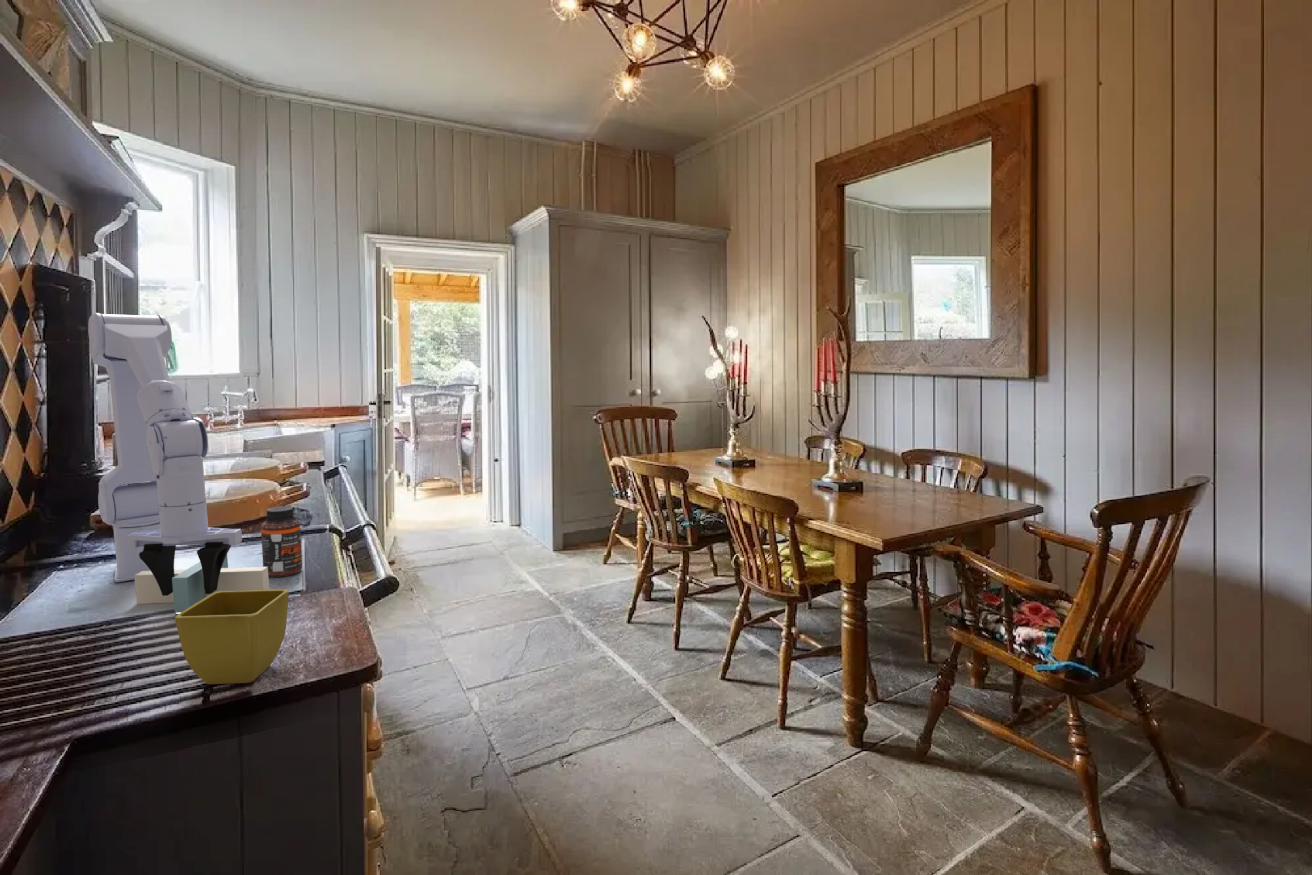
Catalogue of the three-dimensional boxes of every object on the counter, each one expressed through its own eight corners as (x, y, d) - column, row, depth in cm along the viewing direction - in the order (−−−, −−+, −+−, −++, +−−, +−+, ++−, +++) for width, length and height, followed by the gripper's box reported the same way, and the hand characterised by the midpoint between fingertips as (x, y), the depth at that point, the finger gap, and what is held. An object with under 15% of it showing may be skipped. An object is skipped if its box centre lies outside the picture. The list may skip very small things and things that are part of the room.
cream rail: (136, 604, 104) (134, 575, 103) (144, 599, 106) (142, 570, 105) (264, 598, 106) (262, 570, 105) (269, 594, 108) (267, 566, 107)
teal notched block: (216, 586, 111) (213, 553, 111) (229, 586, 112) (227, 553, 111) (175, 614, 99) (171, 578, 99) (189, 614, 100) (186, 577, 99)
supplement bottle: (286, 579, 115) (281, 513, 114) (255, 576, 116) (250, 511, 115) (310, 568, 121) (306, 505, 119) (281, 566, 122) (277, 503, 121)
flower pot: (221, 659, 85) (215, 589, 84) (294, 657, 86) (290, 587, 85) (178, 694, 76) (172, 617, 75) (260, 691, 77) (255, 615, 76)
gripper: (110, 510, 95) (119, 604, 97) (222, 507, 97) (229, 599, 99) (141, 499, 102) (149, 587, 104) (245, 497, 104) (251, 583, 106)
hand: (190, 592), depth 102 cm, fingers open, 5 cm apart
